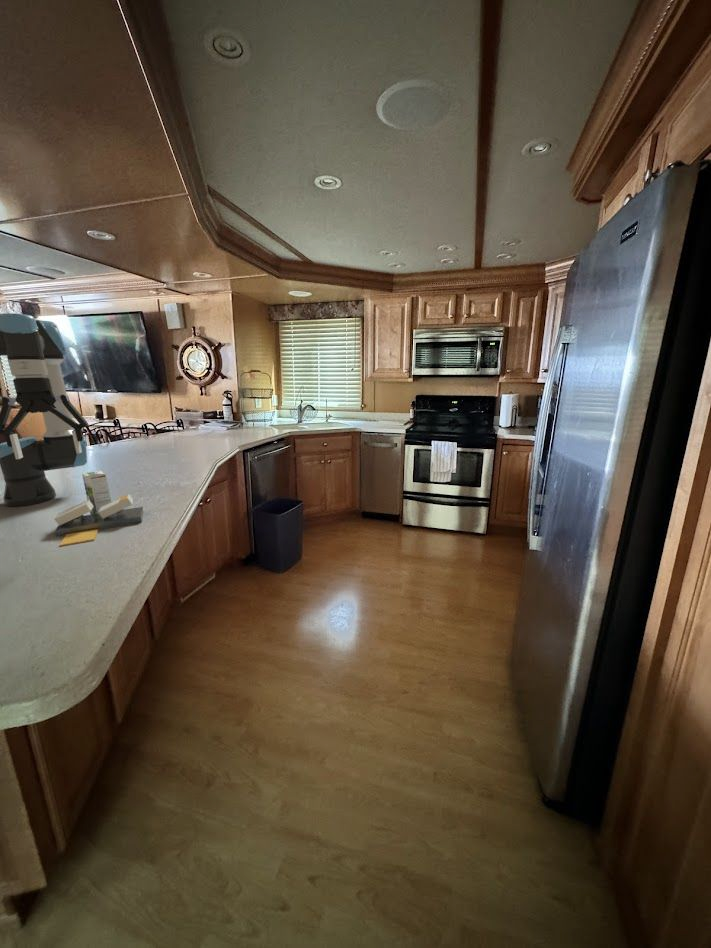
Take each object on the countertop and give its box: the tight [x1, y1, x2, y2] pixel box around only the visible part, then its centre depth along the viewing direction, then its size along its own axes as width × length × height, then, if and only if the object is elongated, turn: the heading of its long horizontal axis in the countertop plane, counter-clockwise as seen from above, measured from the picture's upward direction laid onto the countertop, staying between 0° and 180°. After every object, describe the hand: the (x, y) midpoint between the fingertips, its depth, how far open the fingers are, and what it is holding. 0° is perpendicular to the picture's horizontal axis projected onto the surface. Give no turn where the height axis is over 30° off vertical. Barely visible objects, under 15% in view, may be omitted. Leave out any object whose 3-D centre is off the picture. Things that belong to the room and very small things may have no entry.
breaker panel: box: [54, 506, 144, 537], centre depth 118 cm, size 10×22×4 cm, turn 116°
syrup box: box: [81, 470, 112, 515], centre depth 125 cm, size 6×6×14 cm
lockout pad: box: [59, 529, 100, 547], centre depth 109 cm, size 8×8×1 cm
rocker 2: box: [98, 493, 134, 518], centre depth 119 cm, size 5×9×3 cm, turn 116°
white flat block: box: [53, 500, 93, 526], centre depth 115 cm, size 5×9×2 cm, turn 116°
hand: (50, 455), depth 105 cm, fingers open, 13 cm apart
